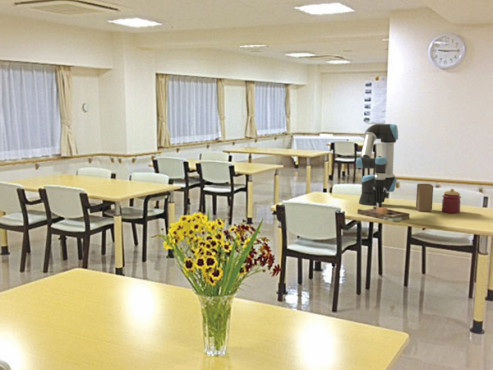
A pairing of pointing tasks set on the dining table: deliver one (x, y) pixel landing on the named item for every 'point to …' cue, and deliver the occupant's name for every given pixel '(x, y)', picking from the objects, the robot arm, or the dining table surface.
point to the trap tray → (390, 215)
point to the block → (424, 197)
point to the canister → (451, 202)
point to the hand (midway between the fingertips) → (378, 211)
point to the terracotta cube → (382, 210)
